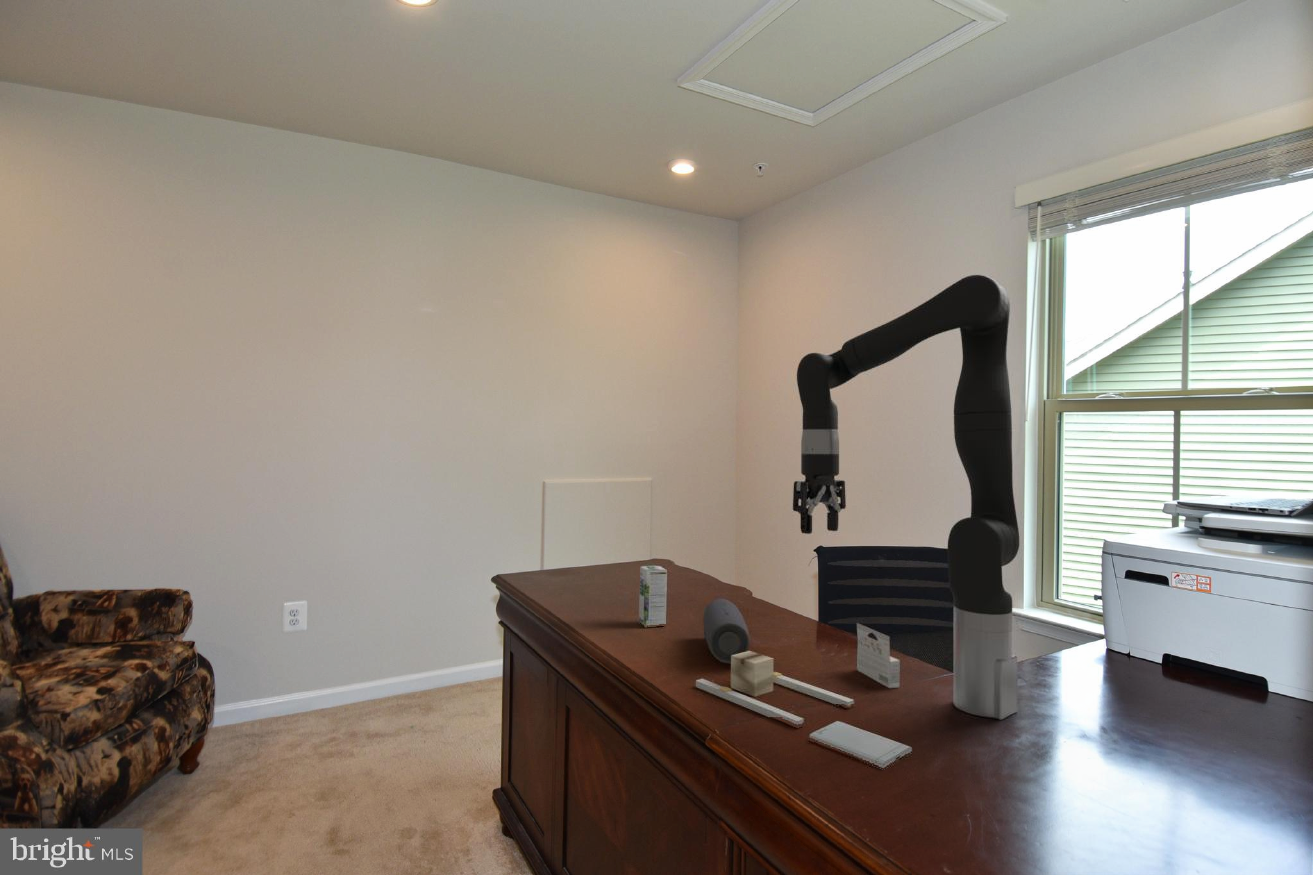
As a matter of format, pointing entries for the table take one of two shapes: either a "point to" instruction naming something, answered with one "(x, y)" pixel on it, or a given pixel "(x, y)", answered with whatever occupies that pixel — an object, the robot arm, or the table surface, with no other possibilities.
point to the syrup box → (652, 595)
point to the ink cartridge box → (877, 657)
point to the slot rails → (768, 709)
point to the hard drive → (861, 743)
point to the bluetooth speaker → (725, 630)
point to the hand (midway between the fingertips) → (819, 532)
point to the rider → (752, 673)
